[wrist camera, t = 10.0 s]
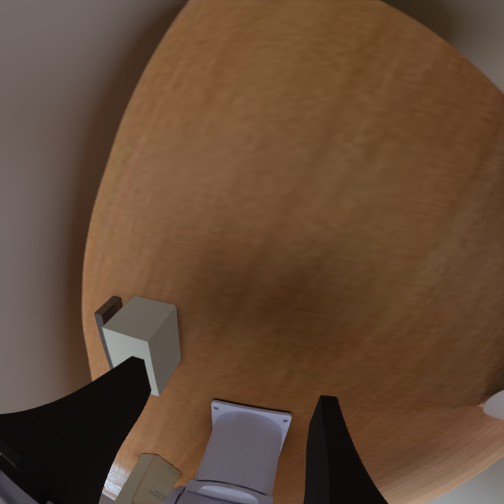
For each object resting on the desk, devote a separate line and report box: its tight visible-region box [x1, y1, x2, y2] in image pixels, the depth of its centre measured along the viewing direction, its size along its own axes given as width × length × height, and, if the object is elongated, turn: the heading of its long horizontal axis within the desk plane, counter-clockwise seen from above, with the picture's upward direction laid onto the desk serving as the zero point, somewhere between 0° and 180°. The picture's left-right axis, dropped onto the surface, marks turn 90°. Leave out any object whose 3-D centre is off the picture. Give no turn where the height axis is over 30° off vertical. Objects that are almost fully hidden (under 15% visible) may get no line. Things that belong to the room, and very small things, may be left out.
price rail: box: [94, 296, 122, 369], centre depth 23 cm, size 8×1×3 cm, turn 176°
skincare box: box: [113, 454, 180, 504], centre depth 31 cm, size 6×4×12 cm
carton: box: [102, 296, 181, 397], centre depth 21 cm, size 4×6×5 cm
